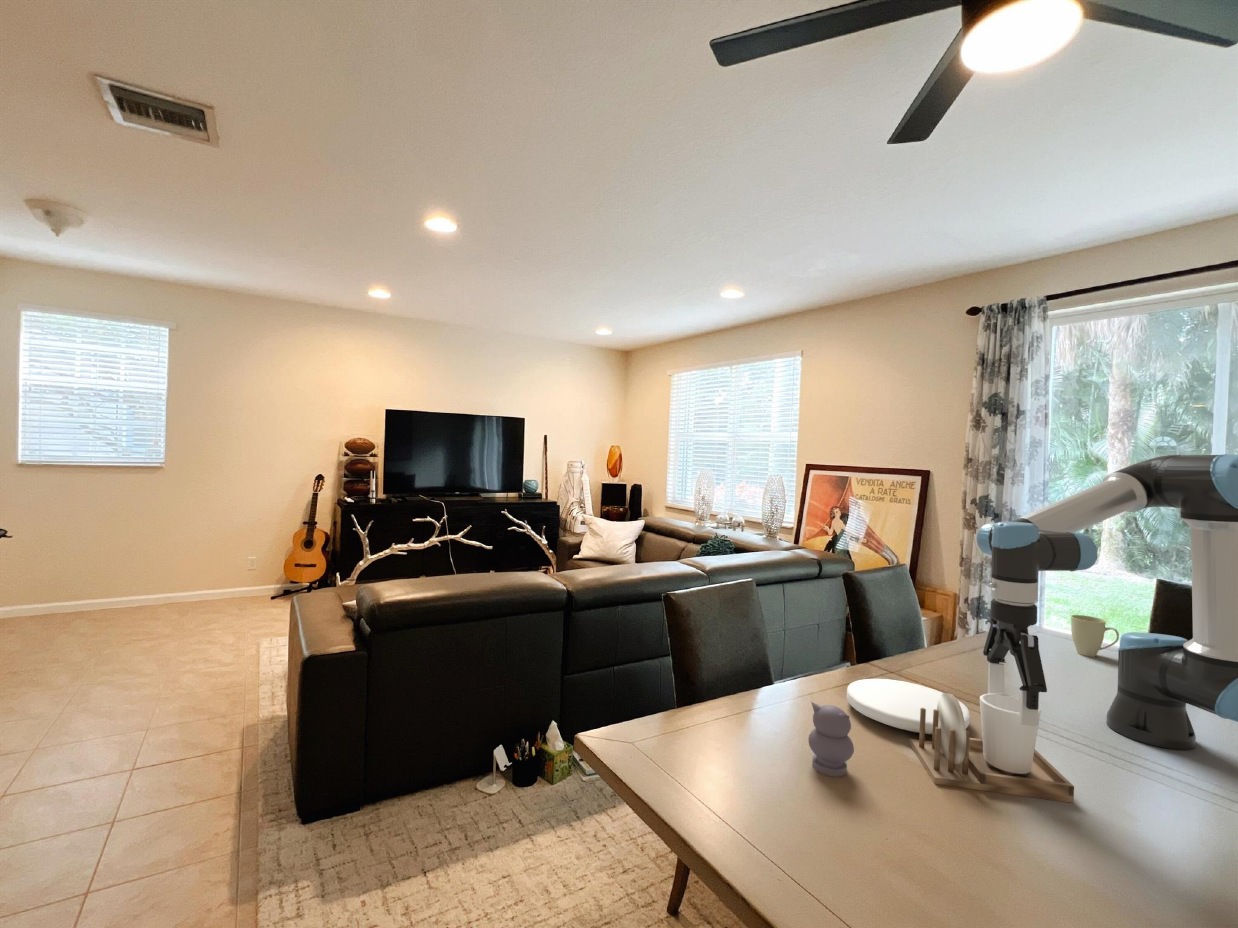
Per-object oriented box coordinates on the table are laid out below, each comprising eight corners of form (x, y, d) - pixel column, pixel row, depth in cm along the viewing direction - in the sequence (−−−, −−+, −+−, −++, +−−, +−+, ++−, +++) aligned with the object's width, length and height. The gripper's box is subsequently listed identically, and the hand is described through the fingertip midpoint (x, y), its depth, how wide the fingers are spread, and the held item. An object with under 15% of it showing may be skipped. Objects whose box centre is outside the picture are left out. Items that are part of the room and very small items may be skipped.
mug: (1081, 658, 185) (1083, 621, 185) (1063, 648, 195) (1064, 613, 195) (1119, 661, 183) (1121, 624, 183) (1099, 651, 193) (1100, 616, 193)
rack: (1029, 759, 118) (1032, 691, 118) (1073, 802, 103) (1076, 724, 103) (910, 744, 122) (912, 678, 122) (934, 783, 107) (937, 708, 107)
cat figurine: (859, 769, 112) (862, 708, 111) (842, 784, 106) (845, 720, 106) (818, 752, 118) (820, 694, 117) (800, 765, 112) (802, 705, 112)
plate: (837, 669, 153) (945, 681, 148) (836, 694, 153) (945, 707, 147) (860, 700, 126) (993, 716, 121) (859, 731, 125) (993, 748, 120)
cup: (1035, 764, 113) (1038, 701, 113) (1040, 787, 105) (1043, 719, 105) (977, 749, 119) (979, 689, 119) (977, 770, 110) (979, 705, 110)
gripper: (967, 586, 125) (965, 682, 125) (1024, 616, 100) (1021, 736, 100) (1005, 588, 123) (1003, 685, 123) (1072, 619, 99) (1069, 741, 99)
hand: (1011, 708), depth 112 cm, fingers open, 13 cm apart
